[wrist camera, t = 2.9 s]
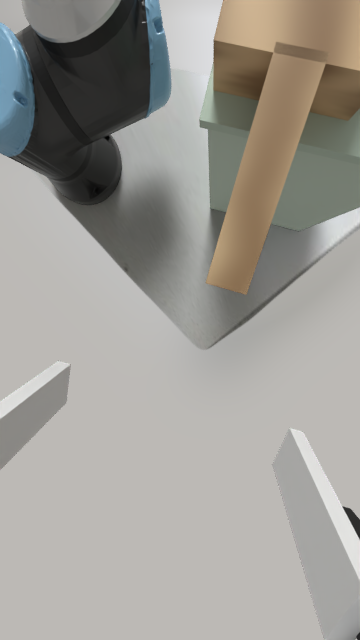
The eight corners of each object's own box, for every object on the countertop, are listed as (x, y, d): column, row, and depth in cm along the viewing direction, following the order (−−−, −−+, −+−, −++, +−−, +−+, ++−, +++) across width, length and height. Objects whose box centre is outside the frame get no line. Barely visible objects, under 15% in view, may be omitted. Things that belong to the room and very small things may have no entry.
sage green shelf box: (207, 210, 47) (199, 119, 18) (223, 149, 44) (246, -75, 15) (300, 234, 46) (455, 179, 17) (323, 173, 43) (557, -21, 14)
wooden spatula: (168, 269, 21) (158, 270, 17) (254, -74, 15) (268, -192, 11) (279, 300, 20) (295, 308, 16) (412, -47, 14) (485, -161, 11)
